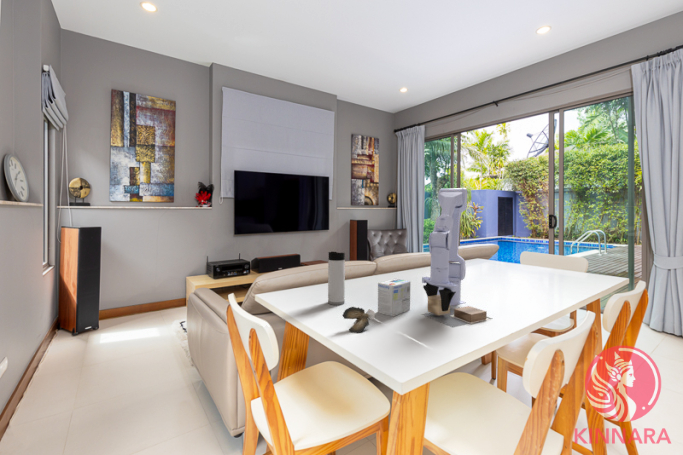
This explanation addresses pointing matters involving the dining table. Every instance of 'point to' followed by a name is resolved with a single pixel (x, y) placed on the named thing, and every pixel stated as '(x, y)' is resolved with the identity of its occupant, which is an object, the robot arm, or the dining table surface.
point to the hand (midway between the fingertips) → (438, 308)
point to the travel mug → (336, 278)
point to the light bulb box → (393, 297)
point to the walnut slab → (470, 314)
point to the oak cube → (436, 305)
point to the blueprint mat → (450, 319)
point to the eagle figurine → (358, 318)
